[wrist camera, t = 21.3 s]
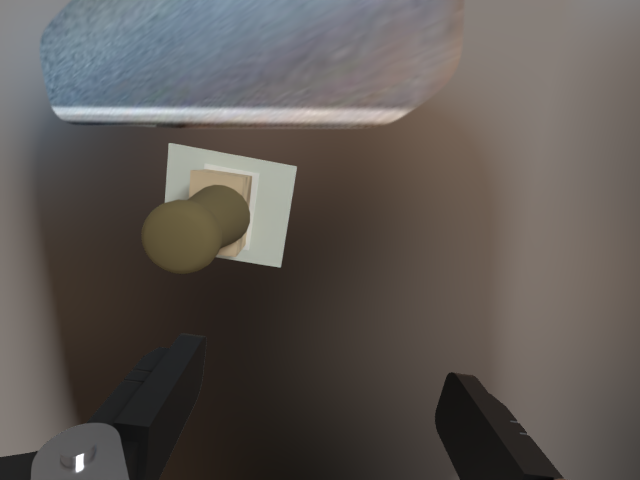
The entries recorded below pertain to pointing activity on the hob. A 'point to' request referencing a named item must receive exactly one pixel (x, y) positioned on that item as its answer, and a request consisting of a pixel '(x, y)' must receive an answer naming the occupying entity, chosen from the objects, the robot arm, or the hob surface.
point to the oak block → (232, 180)
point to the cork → (195, 228)
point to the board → (265, 200)
